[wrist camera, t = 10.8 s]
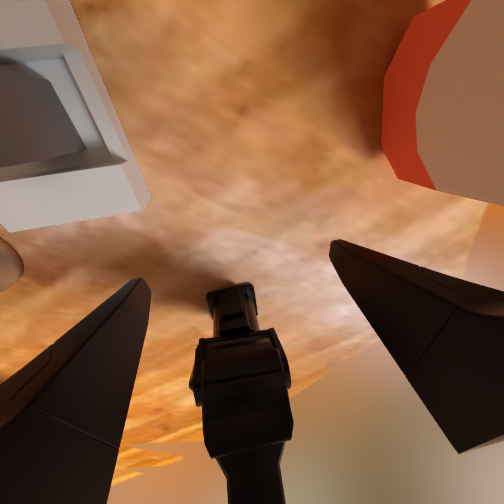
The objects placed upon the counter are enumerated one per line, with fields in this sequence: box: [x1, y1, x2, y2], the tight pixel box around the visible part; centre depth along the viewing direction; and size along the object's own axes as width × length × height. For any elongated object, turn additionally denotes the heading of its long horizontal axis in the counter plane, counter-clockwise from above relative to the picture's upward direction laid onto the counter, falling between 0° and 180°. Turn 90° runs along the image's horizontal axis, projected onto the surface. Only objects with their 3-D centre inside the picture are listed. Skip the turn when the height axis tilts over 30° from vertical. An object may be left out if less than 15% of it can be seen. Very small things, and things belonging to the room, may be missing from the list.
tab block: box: [0, 69, 87, 168], centre depth 11 cm, size 4×4×6 cm
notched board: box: [0, 0, 152, 233], centre depth 13 cm, size 13×10×3 cm
